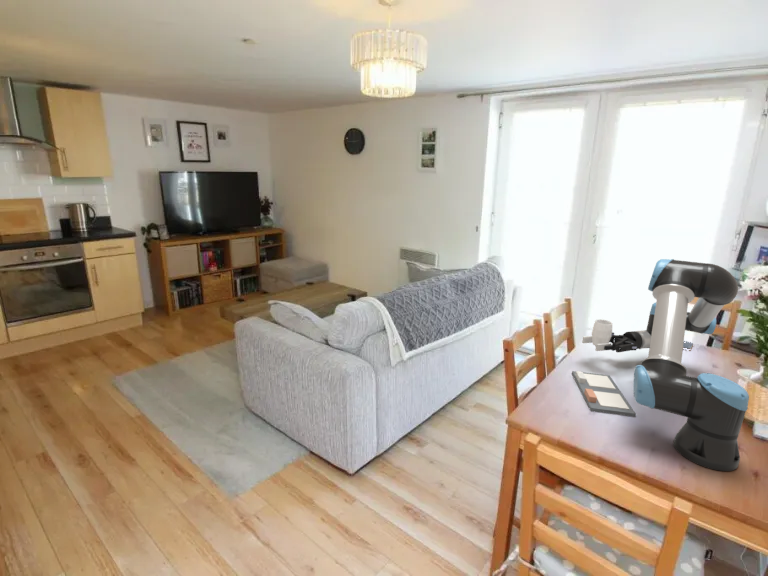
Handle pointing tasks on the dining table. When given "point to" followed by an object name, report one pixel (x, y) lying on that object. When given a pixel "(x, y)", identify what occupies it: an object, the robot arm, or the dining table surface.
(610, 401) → the coaster board
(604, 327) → the cup
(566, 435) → the dining table surface
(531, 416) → the dining table surface
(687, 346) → the woven mat
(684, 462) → the dining table surface
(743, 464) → the dining table surface
